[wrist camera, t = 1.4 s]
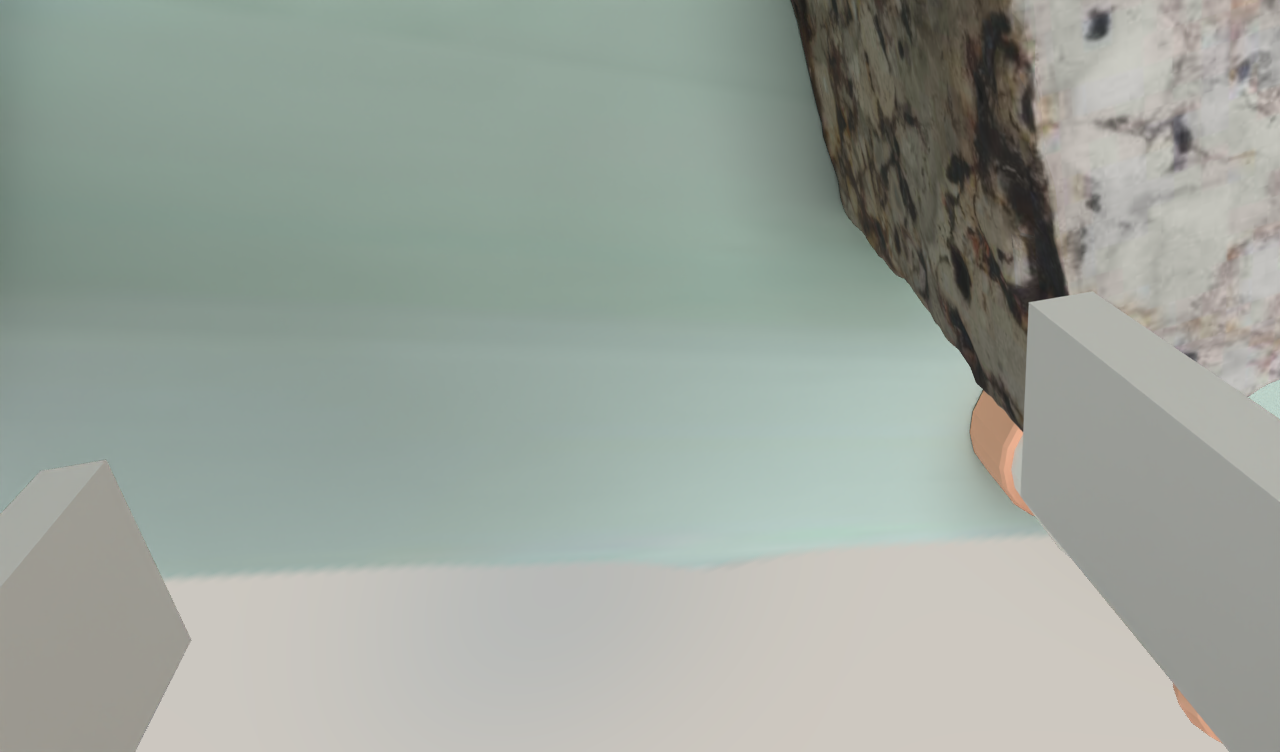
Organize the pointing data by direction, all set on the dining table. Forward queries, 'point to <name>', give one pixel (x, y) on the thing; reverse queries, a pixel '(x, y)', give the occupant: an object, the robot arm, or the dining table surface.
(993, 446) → the salt shaker
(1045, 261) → the stone block
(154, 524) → the dining table surface
